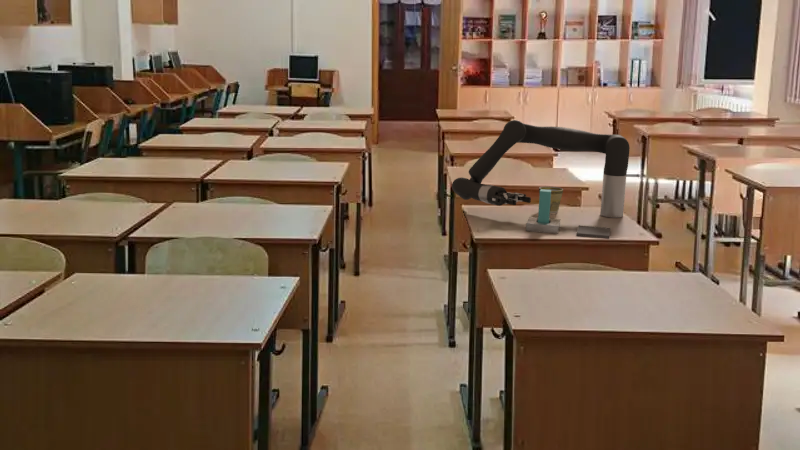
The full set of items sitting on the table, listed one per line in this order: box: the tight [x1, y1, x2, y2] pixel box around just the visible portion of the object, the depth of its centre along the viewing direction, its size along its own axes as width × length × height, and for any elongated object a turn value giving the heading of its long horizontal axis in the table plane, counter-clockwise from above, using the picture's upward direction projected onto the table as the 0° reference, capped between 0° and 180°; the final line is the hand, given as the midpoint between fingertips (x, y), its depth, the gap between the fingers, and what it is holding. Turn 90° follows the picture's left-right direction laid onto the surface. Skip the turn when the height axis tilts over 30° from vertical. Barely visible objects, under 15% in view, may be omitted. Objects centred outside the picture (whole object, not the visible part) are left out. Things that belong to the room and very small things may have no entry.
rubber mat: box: [576, 225, 611, 239], centre depth 354 cm, size 14×12×1 cm
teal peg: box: [537, 189, 551, 223], centre depth 356 cm, size 4×4×15 cm
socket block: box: [525, 216, 562, 234], centre depth 358 cm, size 12×12×3 cm
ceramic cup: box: [538, 185, 564, 214], centre depth 390 cm, size 13×10×10 cm
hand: (523, 201), depth 364 cm, fingers open, 8 cm apart
